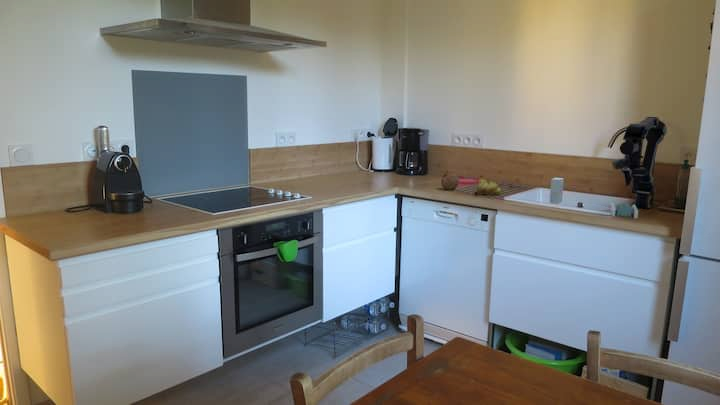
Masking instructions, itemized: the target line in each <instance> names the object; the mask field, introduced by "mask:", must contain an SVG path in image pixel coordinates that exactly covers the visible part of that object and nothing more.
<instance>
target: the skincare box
mask: <svg viewBox="0 0 720 405" xmlns="http://www.w3.org/2000/svg"><path fill="white" fill-rule="evenodd" d="M550 180H551V181H550V189H549V191H550V192H549V202H548V203H549V204H553V205H554V204H555V205H558V204H562V202H563V193H564V182H565V181H564V180H565V178H563V177H562V178H561V177H553V178H551V179H550Z"/></svg>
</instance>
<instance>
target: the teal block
mask: <svg viewBox="0 0 720 405" xmlns="http://www.w3.org/2000/svg"><path fill="white" fill-rule="evenodd" d="M616 209H617V210H616V212H615V214H616V215H617V216H620V217H632V215H633V214H632V205H630V204H620V203H617V204H616Z"/></svg>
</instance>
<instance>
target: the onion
mask: <svg viewBox="0 0 720 405" xmlns="http://www.w3.org/2000/svg"><path fill="white" fill-rule="evenodd" d="M440 183H441V186H442V188H443V189H444V190H446V191H454V190H455V189H456V188H457V187H458V185H459V177H458V176H457V175H456V174H453V173H445V174H443V176H442V177H441V181H440Z"/></svg>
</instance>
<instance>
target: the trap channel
mask: <svg viewBox="0 0 720 405" xmlns="http://www.w3.org/2000/svg"><path fill="white" fill-rule="evenodd" d="M631 206H632V214H631V215H632V216H633V218H634V219H638V216H639V210H638V207H636V206H635V205H633V204H632V205H631ZM609 208H610V209H609V210H610V213H611V212H612V214H611V217H616V212H615V211H616V210H617V208H616V206H615V203H614V202H611V203H610V207H609Z"/></svg>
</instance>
